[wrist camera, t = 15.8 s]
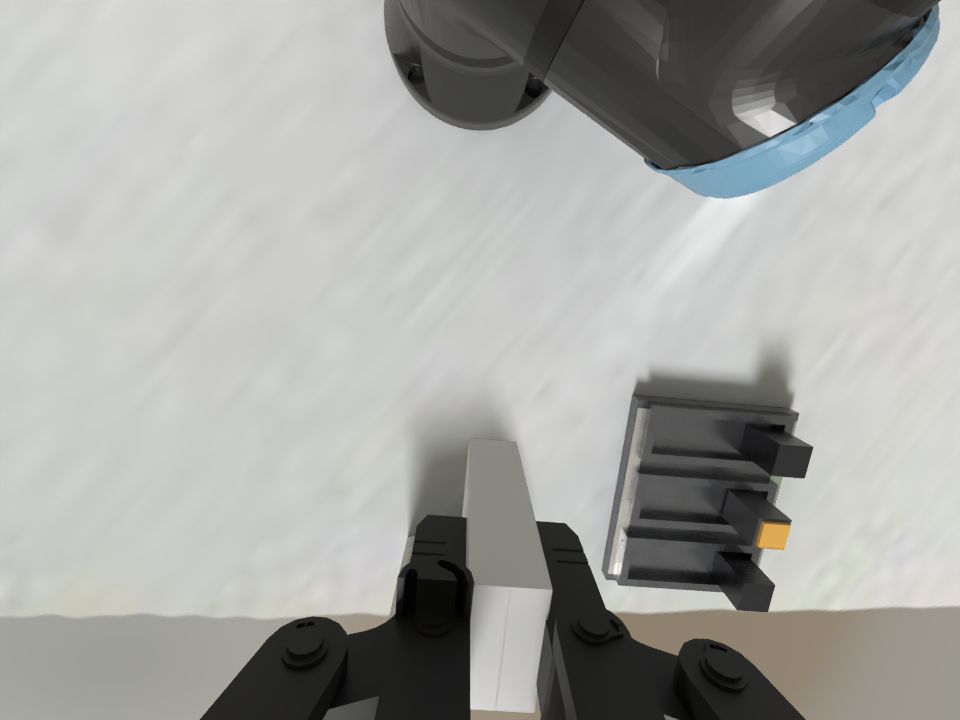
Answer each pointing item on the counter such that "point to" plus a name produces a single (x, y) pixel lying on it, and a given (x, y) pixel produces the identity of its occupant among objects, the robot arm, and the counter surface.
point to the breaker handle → (756, 519)
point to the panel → (697, 494)
